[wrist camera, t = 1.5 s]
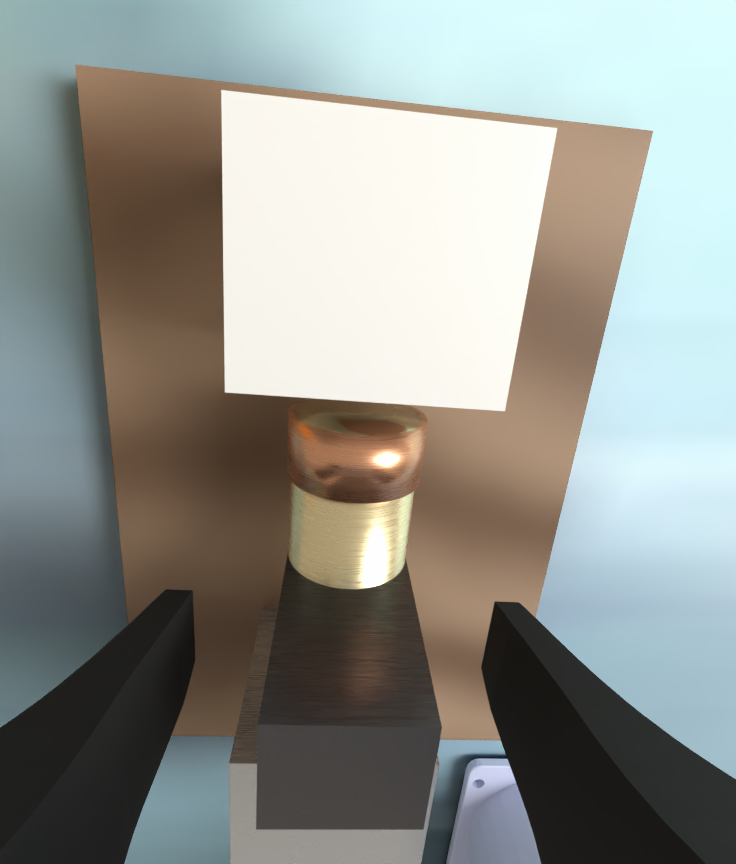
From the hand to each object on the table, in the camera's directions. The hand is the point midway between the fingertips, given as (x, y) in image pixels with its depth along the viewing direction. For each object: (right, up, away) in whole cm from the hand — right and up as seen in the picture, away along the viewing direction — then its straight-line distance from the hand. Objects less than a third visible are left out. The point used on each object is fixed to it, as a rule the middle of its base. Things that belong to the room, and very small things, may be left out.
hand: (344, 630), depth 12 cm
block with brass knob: (0, -1, +3) cm, 3 cm away
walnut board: (0, +3, +5) cm, 6 cm away
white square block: (0, +10, +2) cm, 10 cm away
